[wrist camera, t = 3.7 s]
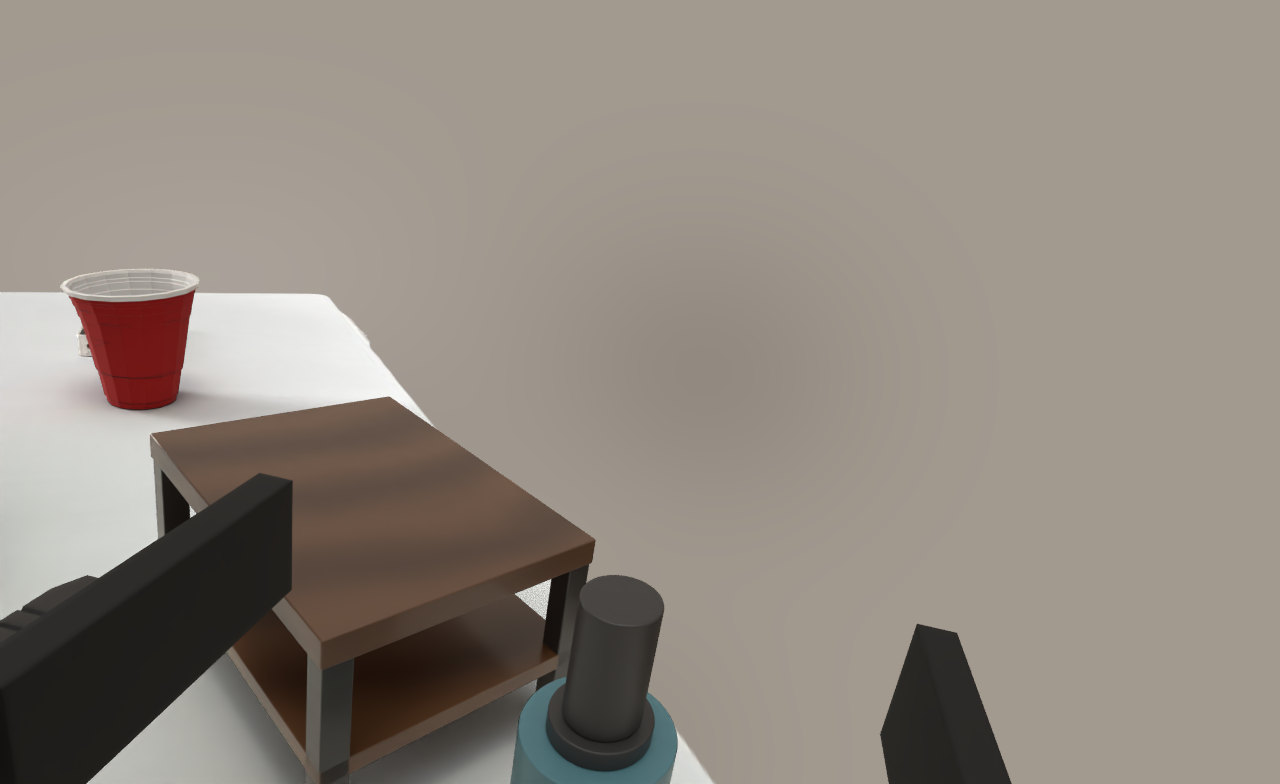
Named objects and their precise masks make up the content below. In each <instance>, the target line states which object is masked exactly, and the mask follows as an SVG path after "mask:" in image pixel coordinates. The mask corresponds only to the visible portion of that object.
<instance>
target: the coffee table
mask: <svg viewBox="0 0 1280 784" xmlns="http://www.w3.org/2000/svg"><path fill="white" fill-rule="evenodd" d="M150 446H151V457H152V458H153V459H154V474H155V492H156V509H157V526H158V539H159V538H161V537H162V536H164V535H165V534H167V533H168V532H170V531H171V530H173V529H175V528H176V527H178V526H179V525H181V524H182V523H184V522H185V521H187V520H188V519H190V506H191V507H192V508H193V510H194V511H195V512H196V514H197V513H199V512H200V511H202V510H203V509H205V508H206V507H208V506H210V505H211V504H213V503H214V502H216V501H217V500H219V499H220V498H222V497H223V496H225V495H226V494H228V493H229V492H231V491H232V490H234V489H235V488H237V487H238V486H240V485H242V484H243V483H245V482H246V481H248V480H249V479H251V478H252V477H254V476H255V475H257V474H258V473H263V474H267V475H271V476H276V477H280V478H284V479H289V480H293V504H292V590H291V591H290V592H289V593H288V594H287V595H286V596H285V597H284V598H283V599H282V600H281V601H280V602H278V603H277V604H276V605H275V606H274V607H273V608H272V609H271V610H270V611H269V612H268V613H267V614H266V615H265V616H264V617H263V618H261V619H260V620H259V621H258V622H257V623H256V624H255V625H254V626H253V627H252V628H251V629H250V630H249V631H248V632H247V633H246V634H244V635H243V636H242V637H241V638H240V639H239V640H238V641H237V642H236V643H235V644H234V645H233V646H232V647H231V648H230V649H229V650H228V651H226V652H227V654H228V655H229V657H230V658H231V660H232V661H233V663H234V664H235V666H236V667H237V669H238V670H239V672H240V673H241V675H242V676H243V678H244V679H245V681H246V682H247V684H248V685H249V686H250V688H251V689H252V691H253V692H254V694H255V695H256V697H257V698H258V700H259V701H260V703H261V704H262V706H263V707H264V709H265V710H266V712H267V713H268V715H269V716H270V718H271V719H272V721H273V722H274V723H275V725H276V726H277V728H278V729H279V731H280V732H281V734H282V735H283V737H284V738H285V740H286V741H287V743H288V744H289V746H290V747H291V749H292V750H293V752H294V753H295V755H296V756H297V758H298V759H299V760H300V762H301V763H302V765H303V766H304V768H305V784H349V774H351V773H352V772H354V771H356V770H358V769H360V768H362V767H364V766H366V765H368V764H370V763H372V762H374V761H376V760H378V759H380V758H382V757H384V756H386V755H388V754H390V753H392V752H394V751H396V750H398V749H400V748H402V747H404V746H406V745H408V744H410V743H412V742H414V741H415V740H417V739H419V738H421V737H423V736H425V735H427V734H429V733H431V732H433V731H435V730H437V729H439V728H441V727H443V726H445V725H447V724H449V723H451V722H453V721H455V720H457V719H459V718H461V717H463V716H465V715H467V714H469V713H471V712H473V711H475V710H477V709H478V708H480V707H482V706H484V705H486V704H488V703H490V702H492V701H494V700H496V699H498V698H500V697H502V696H504V695H506V694H508V693H510V692H512V691H514V690H516V689H518V688H520V687H522V686H524V685H526V684H528V683H530V682H532V681H534V680H536V679H537V685H536V692H537V691H538V690H539V689H540V688H542V687H543V686H545V685H547V684H548V683H550V682H553V681H555V680H557V679H561V678H564V677H567V671H568V664H569V658H570V652H571V645H572V639H573V632H574V626H575V620H576V613H577V607H578V601H579V595H580V591H581V589H582V588H583V586H584V585H585V584H586V580H587V574H588V567H589V564H590V563H591V562H592V559H593V553H594V546H595V539H594V538H592V537H591V536H590V535H588V534H587V533H585V532H584V531H582V530H581V529H580V528H578V527H577V526H575V525H574V524H572V523H571V522H569V521H568V520H566V519H565V518H564V517H562V516H561V515H559V514H558V513H556V512H555V511H554V510H552V509H550V508H549V507H547V506H546V505H545V504H543V503H542V502H541V501H539V500H538V499H536V498H535V497H533V496H532V495H530V494H529V493H528V492H526V491H525V490H523V489H522V488H520V487H519V486H518V485H516V484H515V483H513V482H512V481H510V480H509V479H507V478H506V477H504V476H503V475H502V474H500V473H499V472H497V471H496V470H494V469H493V468H491V467H490V466H488V465H487V464H486V463H484V462H483V461H482V460H480V459H479V458H477V457H476V456H474V455H473V454H471V453H470V452H469V451H467V450H466V449H464V448H463V447H461V446H460V445H458V444H457V443H456V442H454V441H453V440H451V439H450V438H448V437H447V436H445V435H444V434H443V433H441V432H439V431H438V430H437V429H435V428H434V427H433V426H431V425H430V424H428V423H427V422H425V421H424V420H422V419H421V418H420V417H418V416H417V415H415V414H414V413H412V412H411V411H409V410H408V409H407V408H405V407H404V406H402V405H401V404H399V403H398V402H396V401H395V400H394V399H392V398H391V397H383V398H377V399H370V400H364V401H357V402H351V403H344V404H338V405H332V406H325V407H319V408H312V409H306V410H299V411H293V412H287V413H280V414H274V415H267V416H261V417H255V418H248V419H242V420H235V421H229V422H222V423H216V424H210V425H203V426H197V427H190V428H184V429H177V430H171V431H165V432H158V433H152V434H150ZM189 505H190V506H189ZM550 579H551V586H550V593H549V600H548V607H547V614H546V620H545V619H543V618H542V617H541V616H540V615H539V614H537V613H536V612H535V611H534V610H533V609H531V608H530V607H529V606H528V605H527V604H526V603H524V602H523V601H522V600H521V599H520V598H518V597H517V596H516V595H515V593H517V592H520V591H522V590H525V589H527V588H530V587H532V586H535V585H537V584H540V583H542V582H545V581H547V580H550Z"/></svg>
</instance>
